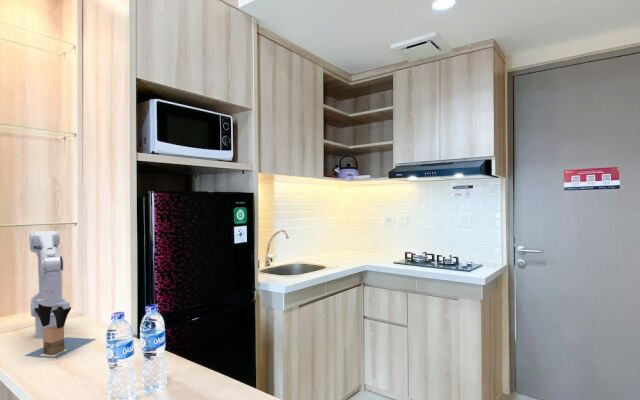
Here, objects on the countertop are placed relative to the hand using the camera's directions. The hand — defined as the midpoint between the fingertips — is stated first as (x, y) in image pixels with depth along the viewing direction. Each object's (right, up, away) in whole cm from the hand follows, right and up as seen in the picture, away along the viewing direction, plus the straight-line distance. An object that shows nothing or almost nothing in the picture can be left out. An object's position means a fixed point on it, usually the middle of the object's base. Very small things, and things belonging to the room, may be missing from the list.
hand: (53, 326), depth 137 cm
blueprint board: (0, -10, +5) cm, 12 cm away
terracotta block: (0, -5, 0) cm, 5 cm away
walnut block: (0, -10, 0) cm, 10 cm away
